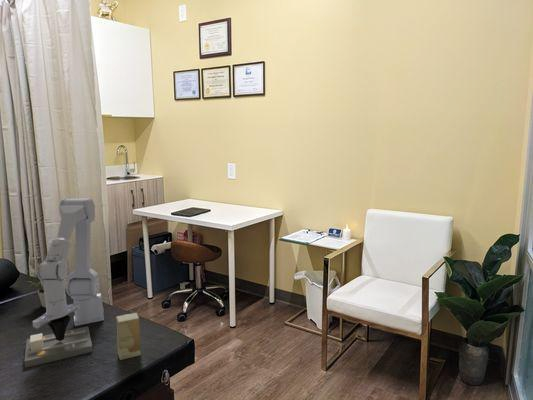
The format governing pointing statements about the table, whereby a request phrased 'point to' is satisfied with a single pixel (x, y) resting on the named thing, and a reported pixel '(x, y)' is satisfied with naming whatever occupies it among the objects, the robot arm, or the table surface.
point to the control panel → (59, 347)
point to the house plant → (40, 291)
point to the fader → (36, 341)
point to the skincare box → (128, 336)
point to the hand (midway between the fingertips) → (60, 339)
